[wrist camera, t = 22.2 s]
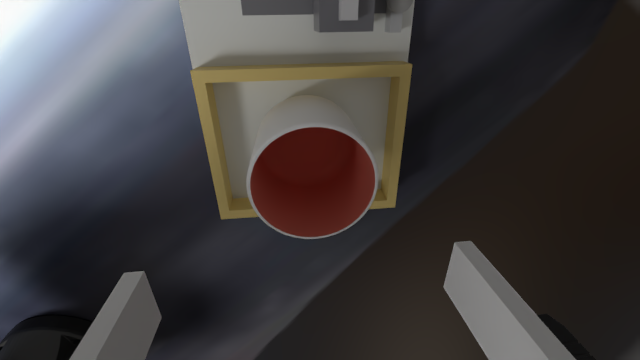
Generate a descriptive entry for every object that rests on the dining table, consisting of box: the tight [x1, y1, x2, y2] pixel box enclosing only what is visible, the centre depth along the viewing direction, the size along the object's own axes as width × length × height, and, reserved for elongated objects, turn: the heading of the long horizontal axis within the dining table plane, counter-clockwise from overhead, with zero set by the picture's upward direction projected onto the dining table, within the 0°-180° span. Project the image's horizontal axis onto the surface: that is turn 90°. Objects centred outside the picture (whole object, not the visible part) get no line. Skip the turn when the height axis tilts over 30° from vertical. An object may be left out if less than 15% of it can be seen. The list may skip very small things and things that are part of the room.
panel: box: [179, 0, 415, 219], centre depth 27 cm, size 20×32×4 cm, turn 1°
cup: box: [246, 95, 378, 239], centre depth 27 cm, size 10×10×10 cm
